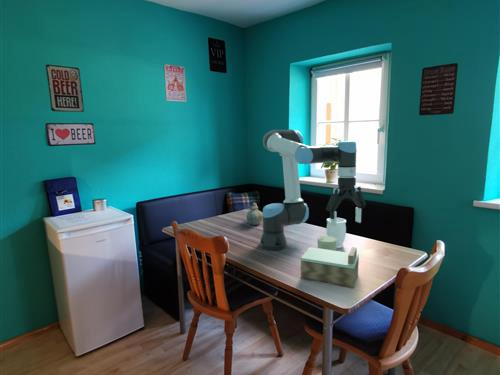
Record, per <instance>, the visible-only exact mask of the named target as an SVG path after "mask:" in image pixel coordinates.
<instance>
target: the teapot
mask: <svg viewBox="0 0 500 375" xmlns="http://www.w3.org/2000/svg"><path fill="white" fill-rule="evenodd" d="M262 214H263V211H261V210H259V206H257V202H253V203H252V205H251V206H250V209H249V211H248V212H247V214H246V220H247V222H248V223H249V224H250V225H253V226H258V225H259V224H260V223H261V222H263V215H262Z"/></svg>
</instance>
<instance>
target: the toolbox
mask: <svg viewBox="0 0 500 375" xmlns="http://www.w3.org/2000/svg"><path fill="white" fill-rule="evenodd" d="M359 259H360V256H359V257H358V260H357V263H356V265H355V268H354V269H350V268H344V267H338V266H332V265H326V264H320V263H313V262H307V261H301V260H300V279H302V280H307V281H312V282H319V283H324V284H329V285H333V286H339V287H343V288H350V289H354V288H355V284H356V282H357V278H358V276H359V264H360V263H359V262H360V261H359Z"/></svg>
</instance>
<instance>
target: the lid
mask: <svg viewBox="0 0 500 375" xmlns="http://www.w3.org/2000/svg"><path fill="white" fill-rule="evenodd" d="M357 249H358V248H357V247H353V246H352V247H351V248H350V251H348V252H347V251H341V250H340V251H339V250H336V251H334V250H327V249H320V248H318V247H310V246H309V247H308V248H307V250H306V251H305V252H304V253H303V254H302V256H301V257H300V262H301V261H307V262H313V263H320V264H326V265H332V266H338V267H344V268H350V269H354V268H355V265H356V263H357V260H358V257H359V258H360V254H359V253H357V251H358V250H357Z"/></svg>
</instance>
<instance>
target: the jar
mask: <svg viewBox="0 0 500 375" xmlns="http://www.w3.org/2000/svg"><path fill="white" fill-rule="evenodd" d="M346 223H347V219H345V218H341V217H337V218H336V227H334V226H332V225H331V219H330V217H329V218H326V236H331V237H335V238H336V239H337V242H336V249H342V248H344V242H345V239H346V233H347V226H346Z"/></svg>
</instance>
